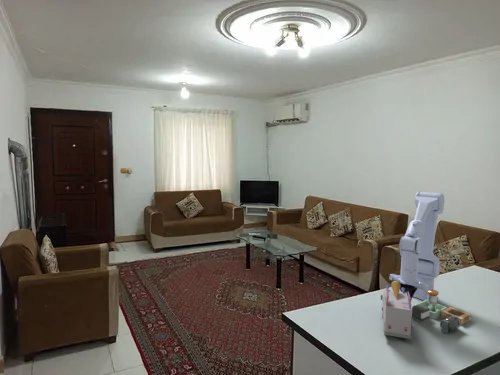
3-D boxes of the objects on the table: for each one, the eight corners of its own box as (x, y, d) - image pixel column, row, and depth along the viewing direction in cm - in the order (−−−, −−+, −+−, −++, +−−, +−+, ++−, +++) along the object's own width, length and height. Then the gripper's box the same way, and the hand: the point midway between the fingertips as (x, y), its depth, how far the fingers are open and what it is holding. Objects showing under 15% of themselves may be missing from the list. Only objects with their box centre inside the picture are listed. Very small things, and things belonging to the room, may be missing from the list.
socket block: (440, 317, 124) (441, 311, 124) (450, 312, 128) (450, 306, 128) (461, 325, 118) (461, 319, 118) (470, 319, 122) (471, 314, 122)
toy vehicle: (406, 317, 124) (408, 277, 122) (413, 345, 105) (415, 299, 104) (379, 313, 127) (381, 274, 125) (381, 340, 108) (383, 294, 107)
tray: (413, 310, 129) (413, 305, 129) (426, 305, 134) (426, 299, 134) (434, 319, 123) (434, 313, 123) (447, 312, 128) (447, 307, 128)
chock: (411, 317, 124) (412, 307, 124) (418, 314, 127) (418, 304, 126) (422, 322, 121) (422, 311, 120) (429, 318, 123) (429, 308, 123)
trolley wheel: (438, 330, 115) (438, 319, 114) (448, 324, 119) (449, 313, 118) (450, 335, 111) (451, 324, 111) (461, 329, 115) (461, 318, 115)
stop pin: (423, 310, 129) (424, 290, 128) (429, 307, 131) (430, 288, 130) (433, 314, 125) (434, 294, 125) (439, 311, 127) (440, 292, 127)
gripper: (385, 264, 130) (383, 299, 131) (422, 276, 118) (420, 313, 119) (396, 261, 134) (394, 295, 135) (433, 272, 122) (430, 308, 123)
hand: (407, 303), depth 127 cm, fingers closed
